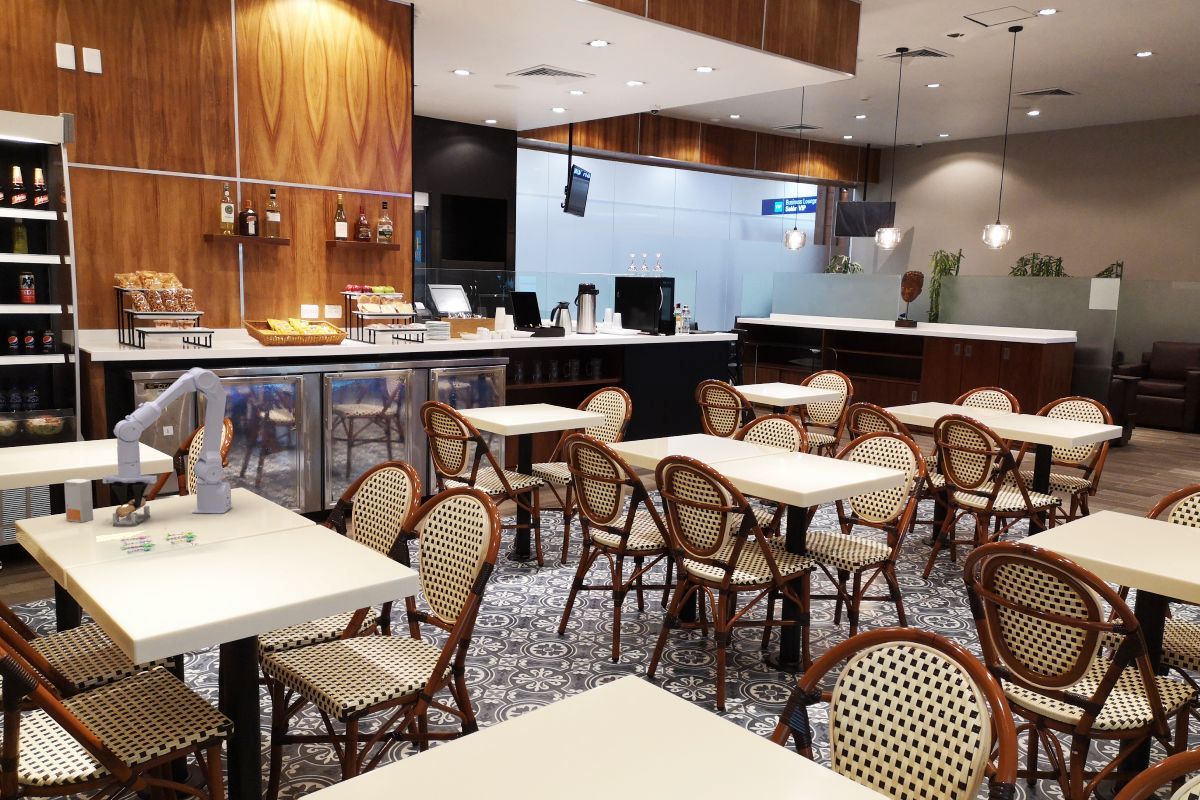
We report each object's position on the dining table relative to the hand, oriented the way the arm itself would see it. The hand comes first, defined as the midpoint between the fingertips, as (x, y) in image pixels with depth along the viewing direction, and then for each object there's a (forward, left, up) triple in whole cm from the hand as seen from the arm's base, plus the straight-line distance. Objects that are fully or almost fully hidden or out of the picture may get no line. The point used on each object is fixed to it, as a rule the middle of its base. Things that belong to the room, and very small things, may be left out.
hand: (131, 507), depth 263 cm
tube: (0, 0, -2) cm, 2 cm away
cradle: (0, 0, -4) cm, 4 cm away
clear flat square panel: (-18, +21, -5) cm, 28 cm away
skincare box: (+15, -2, -5) cm, 16 cm away
